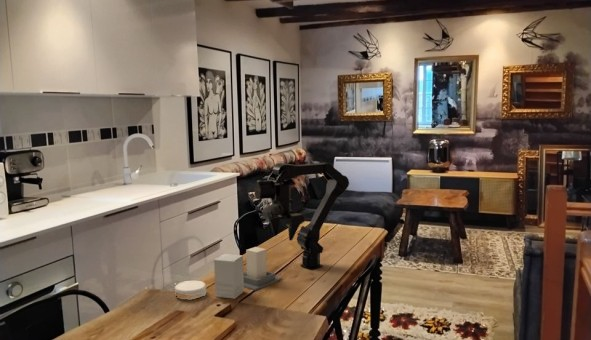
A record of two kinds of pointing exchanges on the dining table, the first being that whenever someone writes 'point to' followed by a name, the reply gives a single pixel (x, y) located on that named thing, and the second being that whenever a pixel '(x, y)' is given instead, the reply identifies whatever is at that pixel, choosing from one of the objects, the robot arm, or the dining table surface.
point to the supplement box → (229, 276)
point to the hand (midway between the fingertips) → (282, 237)
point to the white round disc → (191, 288)
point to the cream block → (256, 262)
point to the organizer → (260, 281)
